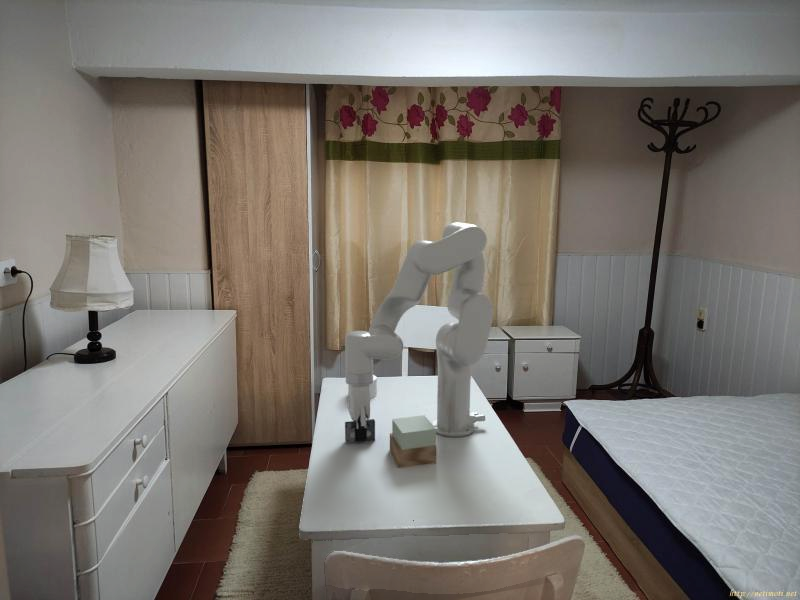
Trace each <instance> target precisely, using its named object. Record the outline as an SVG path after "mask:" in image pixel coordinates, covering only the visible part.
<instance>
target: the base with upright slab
mask: <svg viewBox="0 0 800 600" xmlns="http://www.w3.org/2000/svg"><path fill="white" fill-rule="evenodd" d="M377 381H378V377H377V376H376V375H374V374H373V383H372V384H369V386H370V399H373V398H375V397H377V394H378V382H377Z"/></svg>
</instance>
